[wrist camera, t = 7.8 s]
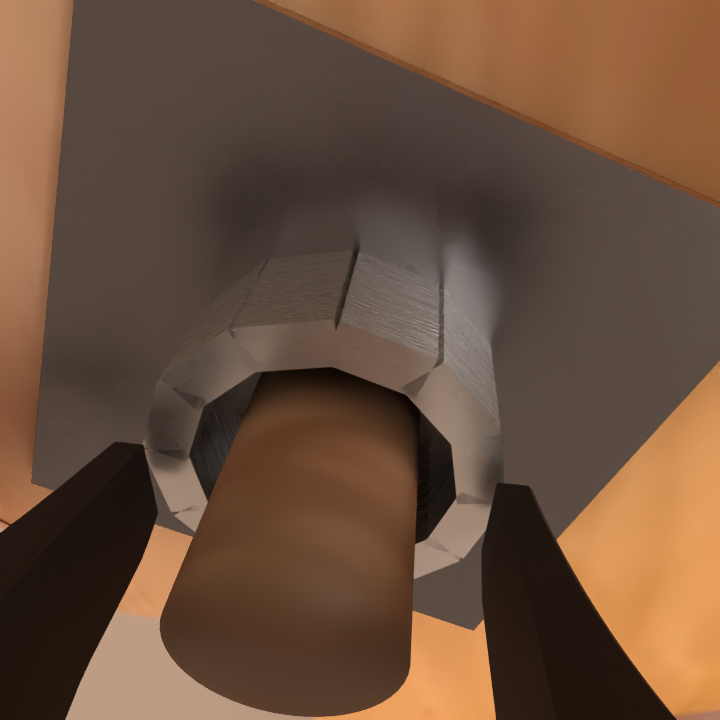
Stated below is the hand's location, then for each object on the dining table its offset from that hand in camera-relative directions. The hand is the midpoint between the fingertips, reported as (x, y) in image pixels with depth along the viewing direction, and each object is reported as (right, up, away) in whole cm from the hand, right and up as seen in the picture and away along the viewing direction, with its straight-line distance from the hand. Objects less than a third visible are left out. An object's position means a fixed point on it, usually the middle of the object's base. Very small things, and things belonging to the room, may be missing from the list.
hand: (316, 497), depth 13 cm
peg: (0, +2, +3) cm, 4 cm away
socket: (+1, +2, +3) cm, 4 cm away
